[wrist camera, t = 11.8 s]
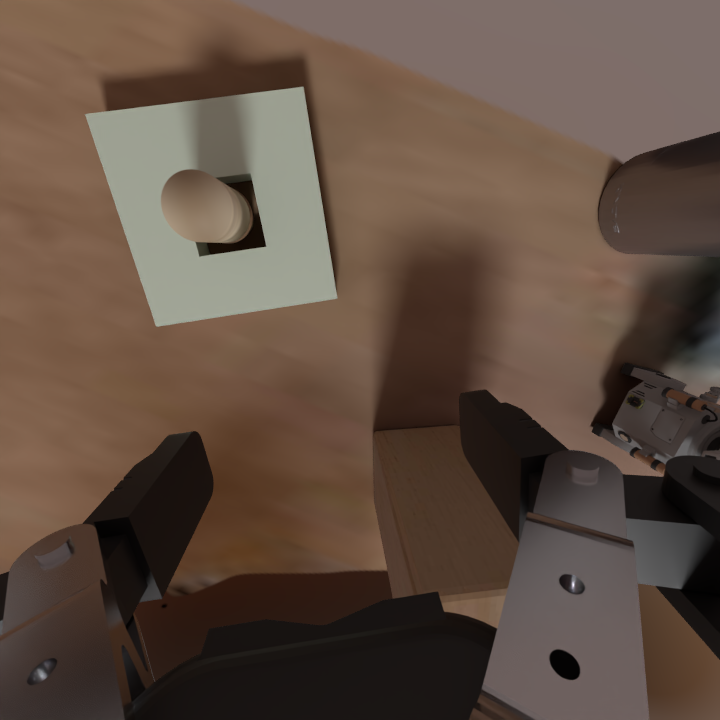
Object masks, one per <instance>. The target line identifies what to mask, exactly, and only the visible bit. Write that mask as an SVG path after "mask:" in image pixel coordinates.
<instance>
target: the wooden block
mask: <svg viewBox="0 0 720 720" xmlns="http://www.w3.org/2000/svg"><path fill="white" fill-rule="evenodd" d="M373 461H374V503H375V508H376V513H377V518H378V524H379V529H380V534H381V539H382V544H383V549H384V554H385V559H386V564H387V569H388V575H389V579H390V585H391V590H392V595H393V599H394V598H400V597H406V596H413V595H419V594H425V593H431V592H437V591H438V593H439V596H440V600H441V603H442V606H443V610H444V612H452V613H457V614H461V615H466V616H469V617H472V618H475V619H478V620H480V621H483V622H485V623H487V624H489V625H491V626H493V627H495V628H498V624H499V620H500V617H501V613H502V609H503V605H504V601H505V597H506V593H507V589H508V586H509V582H510V578H511V574H512V570H513V566H514V562H515V559H516V555H517V551H518V547H519V542H518V541H517V539H516V537H515V536H514V534H513V533H512V531H511V530H510V528H509V526H508V525H507V523H506V522H505V520H504V518H503V517H502V515H501V514H500V512H499V510H498V509H497V507H496V506H495V504H494V502H493V501H492V499H491V498H490V496H489V494H488V493H487V491H486V490H485V488H484V486H483V485H482V483H481V482H480V480H479V478H478V477H477V475H476V474H475V472H474V470H473V469H472V467H471V466H470V464H469V462H468V461H467V459H466V457H465V455H464V452H463V449H462V445H461V437H460V427H459V426H457V425H450V426H436V427H423V428H410V429H397V430H384V431H376V432H374V435H373Z"/></svg>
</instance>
